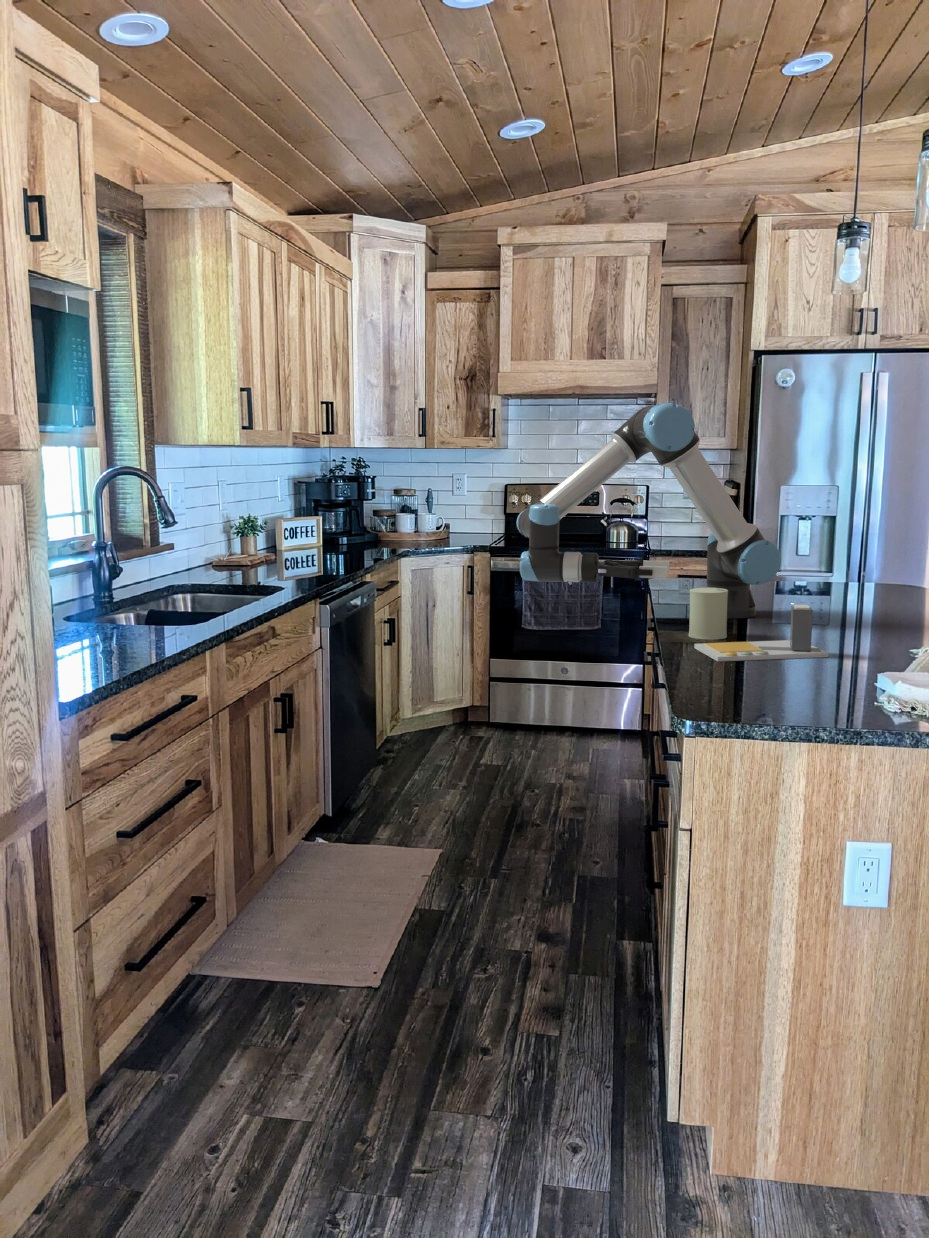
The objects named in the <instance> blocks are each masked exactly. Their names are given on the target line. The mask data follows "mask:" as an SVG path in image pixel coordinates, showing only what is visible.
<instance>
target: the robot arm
mask: <svg viewBox="0 0 929 1238" xmlns="http://www.w3.org/2000/svg"><path fill="white" fill-rule="evenodd" d="M695 427H696V425H695V420H694V417H693V416H692V414H691V413H690V411H689V410H688V409H687V408H685V407H684V406H682V405H680V404H677V403H672V402H661V403H658V404H656V405H648V406H645V407H642V408H641V409H639V410H638V411H636V412H635V413H633V415H631V417H629V418H628V419H627V420H626V421H625V422H624V423H623V424H622V425H620V426H619V428H617V430H615V431H614V432H613V433H611V435H610V440H609V441H608V442H607V443H606V444H605V445H603V446H602V447H601V448H599V449H598V450H597V452H595V453H594V454H593V455H591V456H590V457H589V458H588V459H586V461H584V462H583V463H582V464H581V465H579V467H577V468H576V469H575V470H573V471H572V472H571V473H570V474H569V475H568V476H567V477H566V478H564V479H563V480H561V482H560V483H558V484H557V485H555V486H554V488H552V489H551V490H550V491H549V492H547V494H545V495H544V496H543V497H541V498H540V499H539V500H538V501H537V502H536V503H535V504H532V505H530V506H529V508H526V509H524V510H523V511H521V512H520V513H519V514H518V515H517V518H516V528H517V530H518V531H519V533H520V534H521V535H522V536H524V537H525V538H527V539H529V542H528V543H529V544H528V550H527V551H526V550H525V551H523V552H521V555H520V561H519V574H520V576H521V579H523V580H524V581H530V582H531V581H533V582H538V583H540V582H550V583H552V582H554V583H555V582H556V583H557V582H558V583H564V582H565V583H566V582H568V584H569V585H572V584H573V583H579V582H582V583H583V584H584V583H586V584H587V583H588V584H589V583H591V584H596V583H597V582H598V580H599V577H605V578H610V577H613V578H625V579H632V580H634V581H636V582H637V581H639V578H641V579H668V573H669V572H670V563H671V561H670V560H644V557H639V559H626V560H625V559H623V560H619V559H606V560H605V559H604V560H603V562H602V561H599V559H600V558H599V554H598V553H597V552H584V553H581V552H580V551H576V552H574V551H565V552H563V551H562V552H561V551H559V548H560V546H559V545H560V521H561V520H562V518H564V517H565V516H566V515H567V514H569V513H570V512H571V511H573V510H574V508H577V506H578V505H579V504H581V503H582V502H584V500H585V499H586V498H588V497H589V496H591V494H592V493H594V492H595V491H596V490H597V489H598V488H599V487H601V486H602V485H603V484H604V483H606V482H607V481H608V480H609V479H610V478H612V477H613V476H614V475H615V474H616V473H617V472H619V471H620V470H621V469H623V467H625V466H626V465H627V464H628V463H635V462H637V461H638V460H640V459H641V458H642V457H644V456H645V455H646V454H649V453H651V454H652V455H653V457H654V458H655V459H656V461H657V463H658V464H659V465H660V466H661V467H664V468H665V467H666V468H669V469H670V471H671V473H672V474H673V476H674V477H675V479H676V480H677V482H678V483H679V485H680V486H681V488H682V489H683V491H684V493H685V494H686V495H687V496H688V498H689V500H690V501H691V502H692V505H694V507H695V509H696V510H697V512H698V513H699V515H700V516H701V518H702V519H703V521H704V522H705V524H706V525H707V527H708V529H709V530H710V532H711V534H709V535H708V538H707V544H706V549H707V552H706V553H707V554H706V555H707V556H706V559H707V560H706V587H705V588H722V589H726V590H728V597H727V619H744V618H745V619H746V618H752V617H755V616H756V615H757V606H756V602H755V599H754V595H753V593H752V590H751V585H755V586H756V585H757V586H758V585H759V586H760V585H763V584H766V583H768V582H770V581H772V580H773V578H775V577H776V576H777V573H779V570H780V568H781V563H782V555H781V553H780V550H779V548H778V546H777V545H776V544H775V543H774V542H772V541H771V540H768V539H767V540H766V539H765V537H764V536H763V534H762V532H761V531H760V529H759V528H758V526H757V525H756V524H755V523H754V524H753V523H748V522H747V520H746V518H744V516H743V515H742V513H741V512H740V510H739V509H738V507H737V506H736V504H735V502H734V501H733V498H731V496H730V495H729V493H728V491H727V490H726V489H725V486H724V485H723V484H722V482H721V481H720V479H719V478H718V476H717V475H716V473H715V472H714V470H713V469H712V467H711V466H710V464H709V462H708V461H707V459H706V458H705V456H704V455H703V453H702V452H701V450H700V448H699V445H700V442H701V439H700V437H699V436H698V434H697V432H696V431H695Z"/></svg>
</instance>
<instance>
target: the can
mask: <svg viewBox="0 0 929 1238" xmlns="http://www.w3.org/2000/svg"><path fill="white" fill-rule="evenodd" d="M727 597H728V590H726V589H722V588H706V587H695V588H691V589H689V626H688V627H689V628H688V629H689V630H688V637H689V638H692V639H695V640H703V641H704V640H705V641H707V640H708V641H717V640H723V639H726V638H727V637H728V634H727V631H728V630H727V629H728V628H727V627H728V626H727V625H728V623H727V622H728V618H727Z"/></svg>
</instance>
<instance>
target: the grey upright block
mask: <svg viewBox="0 0 929 1238" xmlns="http://www.w3.org/2000/svg"><path fill="white" fill-rule="evenodd" d="M813 610H814V609H813V608H812V607H811V606H810V605H809V604H793V605H791V610H790V636H789V640H790V647H791V649H792V650H807V651H811V645H812V635H813V634H812V633H813V612H814V611H813Z"/></svg>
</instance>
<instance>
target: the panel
mask: <svg viewBox="0 0 929 1238" xmlns="http://www.w3.org/2000/svg"><path fill="white" fill-rule="evenodd" d="M694 649H696V650H697V651H698V652H701V653H702V654H704V655H706V656H708V657H709V658H711V659H713V660H714V661H716V662H734V661H736V662H739V661H740V662H742V661H758V660H759V661H763V660H767V661H768V660H787V659H788V660H789V659H792V660H793V659H811V658H813V659H814V658H829V657H830V652H829V651H827V650H824V649H822V648H820V647H816V646H814V645H812V644H811V651H807V650H792V649H791V647H790V639H786V640H785V639H784V640H782V639H781V640H759V641H758V640H757V641H731V642H729V641H727V642H707V643H706V642H705V643H694Z"/></svg>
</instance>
